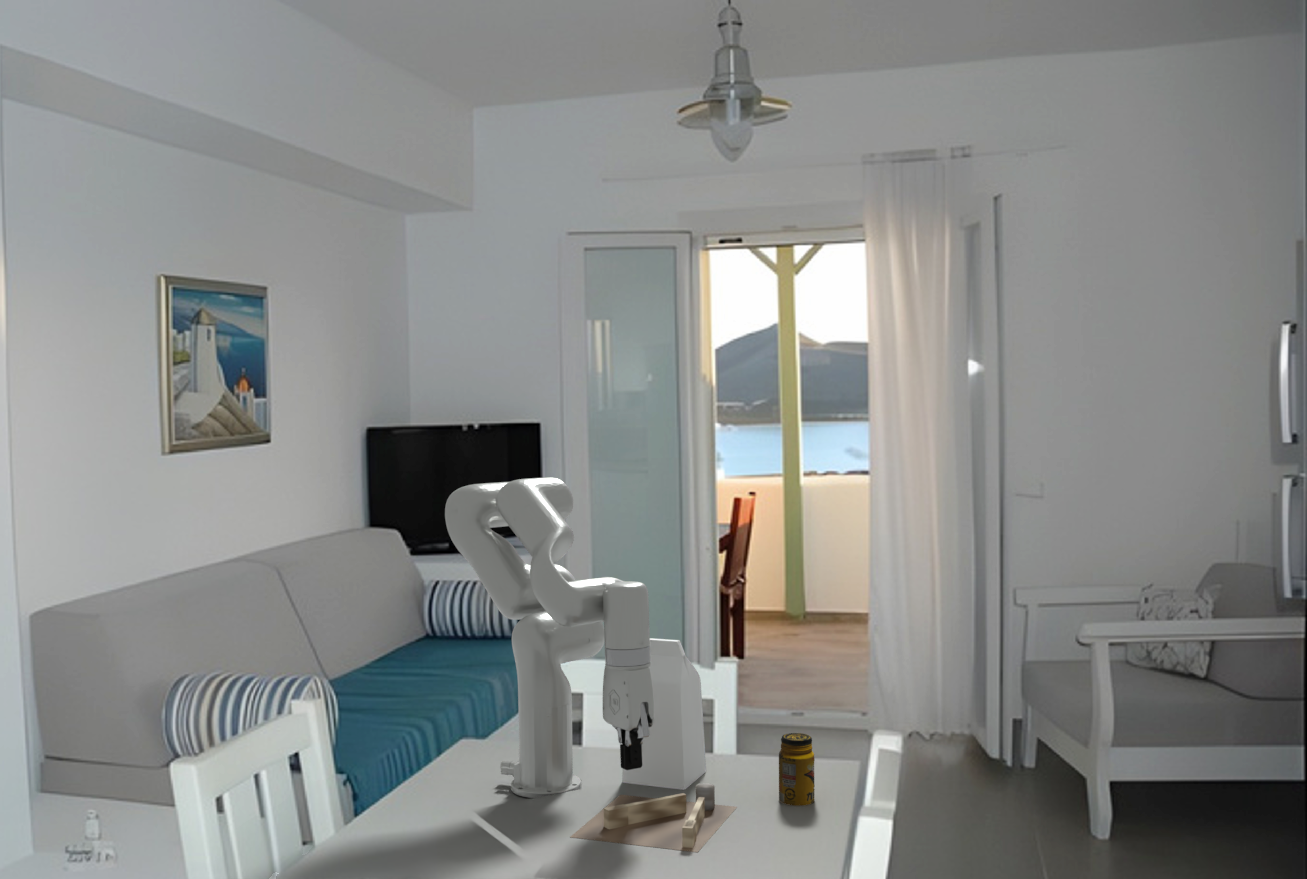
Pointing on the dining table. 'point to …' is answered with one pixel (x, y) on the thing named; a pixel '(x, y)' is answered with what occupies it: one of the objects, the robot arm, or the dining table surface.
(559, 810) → the dining table surface
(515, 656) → the robot arm
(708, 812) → the board
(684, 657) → the milk
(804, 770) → the condiment
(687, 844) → the beige long slender part
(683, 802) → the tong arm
